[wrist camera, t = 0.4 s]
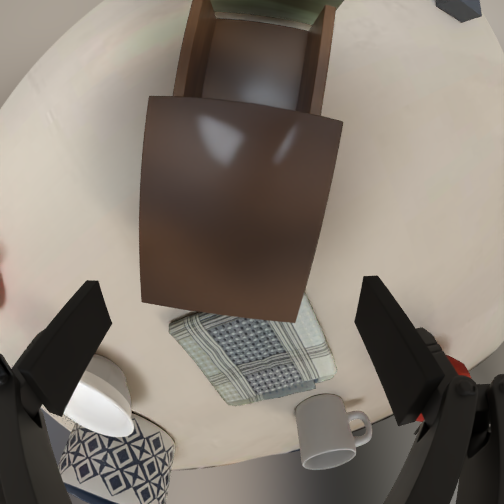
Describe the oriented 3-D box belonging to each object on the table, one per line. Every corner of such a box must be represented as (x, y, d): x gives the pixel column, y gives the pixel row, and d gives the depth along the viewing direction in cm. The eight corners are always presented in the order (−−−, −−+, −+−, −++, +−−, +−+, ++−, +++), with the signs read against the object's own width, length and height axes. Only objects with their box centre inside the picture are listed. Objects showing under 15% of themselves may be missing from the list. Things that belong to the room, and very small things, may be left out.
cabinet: (182, 106, 24) (148, 95, 15) (312, 124, 25) (343, 121, 16) (170, 253, 30) (141, 302, 21) (283, 268, 31) (295, 323, 22)
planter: (94, 387, 41) (57, 475, 23) (194, 438, 47) (184, 523, 28) (74, 420, 48) (49, 483, 30) (152, 459, 54) (139, 522, 36)
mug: (297, 423, 44) (303, 473, 34) (292, 399, 41) (299, 456, 31) (360, 409, 43) (374, 456, 33) (363, 383, 40) (382, 436, 30)
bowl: (161, 402, 42) (151, 442, 34) (91, 397, 43) (77, 430, 35) (120, 335, 35) (98, 378, 27) (49, 336, 36) (25, 369, 29)
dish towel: (165, 319, 34) (158, 336, 31) (300, 270, 31) (305, 285, 28) (229, 401, 41) (228, 416, 38) (338, 369, 38) (342, 385, 35)
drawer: (215, -27, 17) (204, -67, 10) (327, -11, 17) (350, -47, 10) (182, 134, 24) (156, 136, 17) (303, 151, 25) (323, 159, 18)
